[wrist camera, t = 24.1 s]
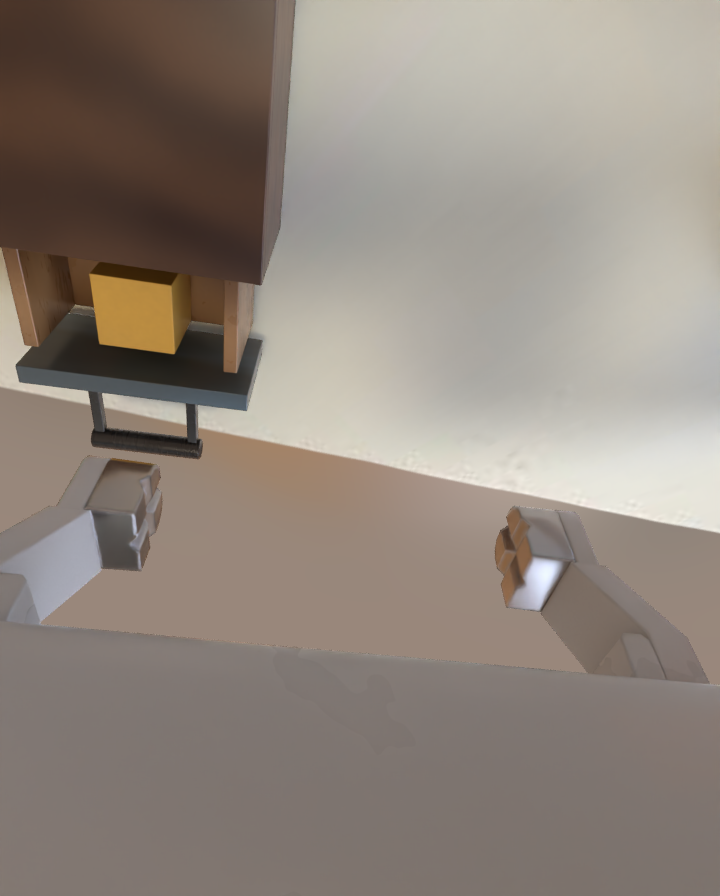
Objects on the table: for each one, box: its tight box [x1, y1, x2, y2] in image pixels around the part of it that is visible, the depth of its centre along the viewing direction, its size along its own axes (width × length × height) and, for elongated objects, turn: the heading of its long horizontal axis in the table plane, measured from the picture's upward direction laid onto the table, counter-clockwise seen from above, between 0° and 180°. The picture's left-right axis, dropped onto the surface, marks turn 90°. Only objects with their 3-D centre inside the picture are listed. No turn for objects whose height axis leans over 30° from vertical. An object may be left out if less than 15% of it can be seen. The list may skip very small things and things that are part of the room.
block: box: [89, 262, 191, 354], centre depth 35 cm, size 4×4×4 cm
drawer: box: [2, 247, 263, 459], centre depth 35 cm, size 20×13×7 cm
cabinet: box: [0, 0, 296, 285], centre depth 27 cm, size 16×15×9 cm
